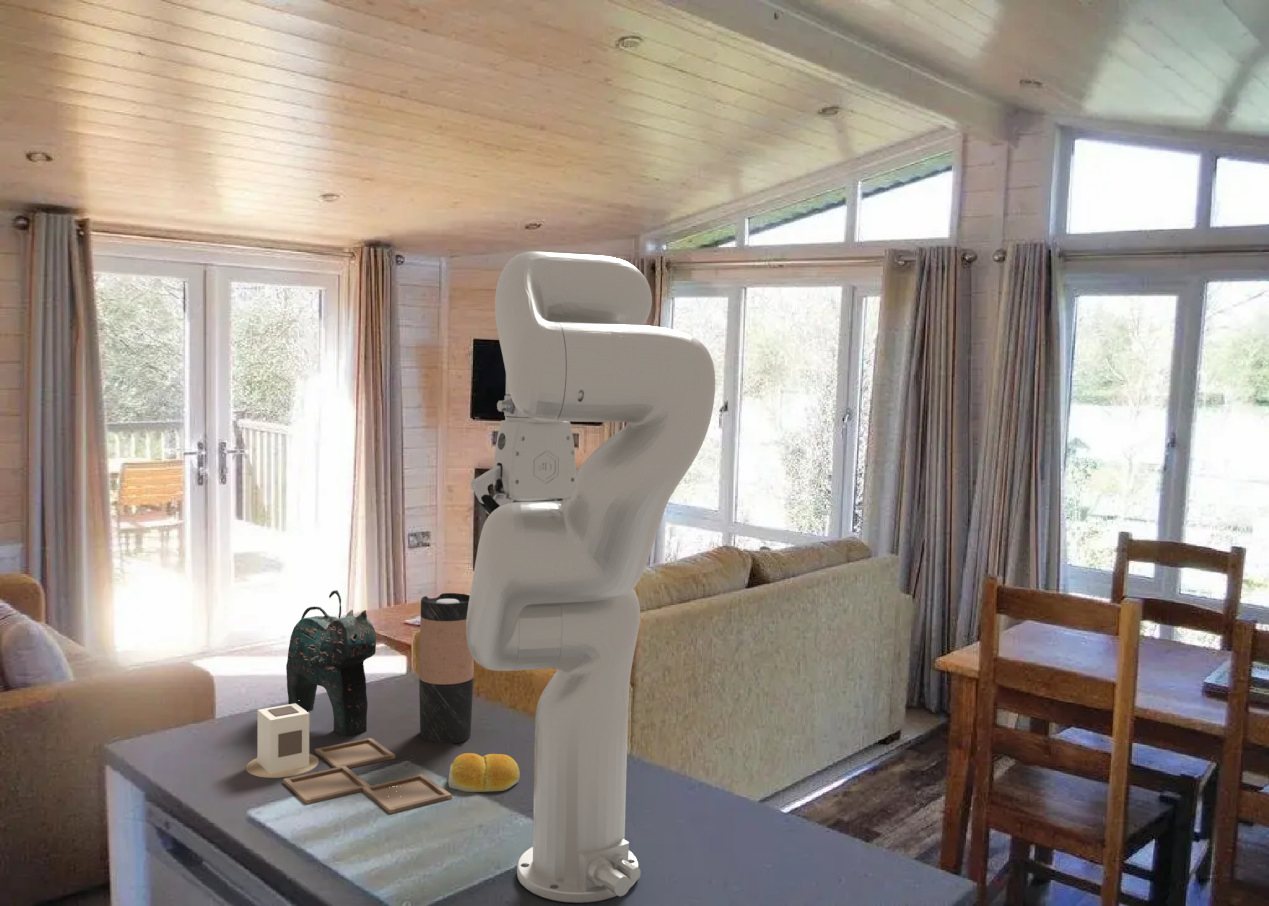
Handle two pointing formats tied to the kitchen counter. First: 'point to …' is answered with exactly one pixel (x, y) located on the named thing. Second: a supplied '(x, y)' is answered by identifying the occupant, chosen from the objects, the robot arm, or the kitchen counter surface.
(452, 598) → the travel mug
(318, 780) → the tray
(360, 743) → the tray
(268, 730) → the white box with panels
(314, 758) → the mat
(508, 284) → the robot arm
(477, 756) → the bread roll
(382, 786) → the tray
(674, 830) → the kitchen counter surface
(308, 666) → the ceramic cat
